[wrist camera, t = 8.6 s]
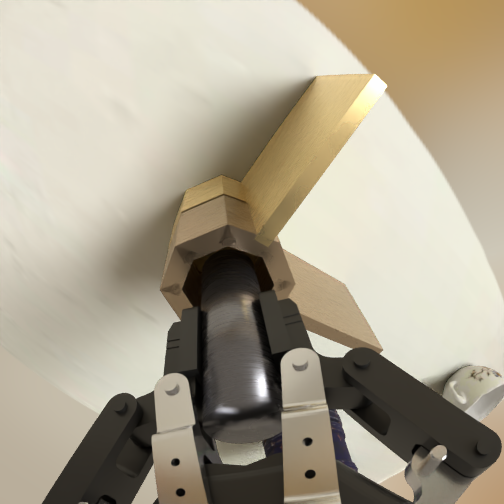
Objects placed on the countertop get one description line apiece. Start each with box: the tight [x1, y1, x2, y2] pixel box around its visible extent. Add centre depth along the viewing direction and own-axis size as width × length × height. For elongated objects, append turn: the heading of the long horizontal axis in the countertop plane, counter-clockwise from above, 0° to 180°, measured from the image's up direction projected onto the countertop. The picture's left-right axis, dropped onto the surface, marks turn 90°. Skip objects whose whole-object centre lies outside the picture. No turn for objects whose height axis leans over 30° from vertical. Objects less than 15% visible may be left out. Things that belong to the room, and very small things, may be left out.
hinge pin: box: [201, 249, 283, 443], centre depth 13 cm, size 3×3×9 cm
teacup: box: [442, 365, 504, 421], centre depth 36 cm, size 15×12×8 cm
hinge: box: [160, 74, 387, 354], centre depth 18 cm, size 15×15×8 cm
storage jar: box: [262, 409, 358, 472], centre depth 30 cm, size 10×10×15 cm
